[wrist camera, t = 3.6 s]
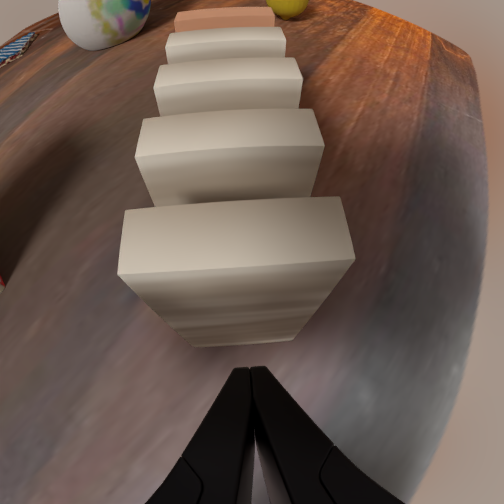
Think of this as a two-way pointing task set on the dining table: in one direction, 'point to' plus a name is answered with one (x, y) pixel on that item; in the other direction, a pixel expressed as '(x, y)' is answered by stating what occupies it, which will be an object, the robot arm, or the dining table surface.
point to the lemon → (287, 7)
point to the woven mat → (15, 49)
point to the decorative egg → (102, 21)
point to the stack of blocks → (1, 285)
